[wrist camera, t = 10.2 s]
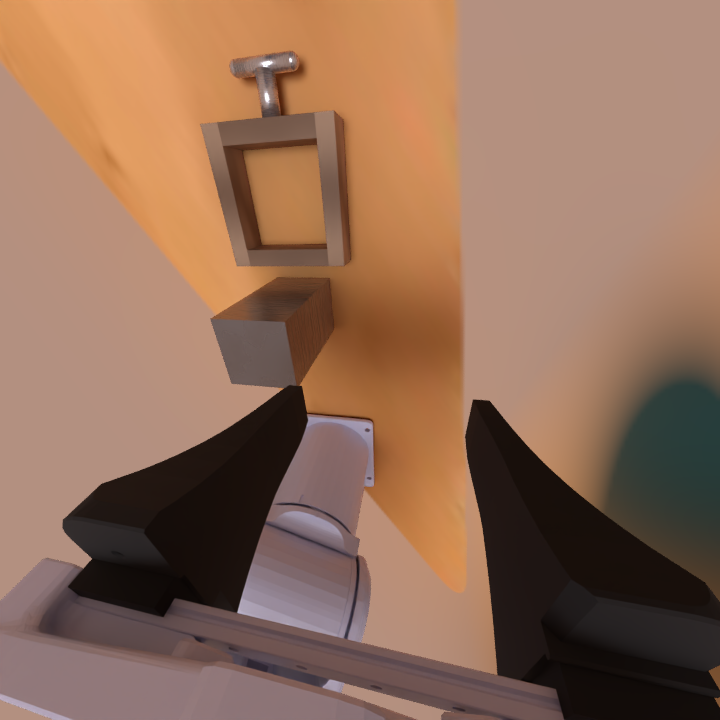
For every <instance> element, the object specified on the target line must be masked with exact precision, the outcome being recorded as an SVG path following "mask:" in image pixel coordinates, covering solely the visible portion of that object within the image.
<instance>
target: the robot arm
mask: <svg viewBox="0 0 720 720" xmlns="http://www.w3.org/2000/svg"><path fill="white" fill-rule="evenodd" d="M366 428H368V429H366ZM465 439H466V450H467V459H468V464H469V469H470V473H471V478H472V482H473V486H474V490H475V495H476V499H477V503H478V508H479V512H480V517H481V522H482V528H483V535H484V542H485V551H486V558H487V567H488V576H489V585H490V593H491V604H492V614H493V625H494V637H495V649H496V659H497V673H498V675H494V674H490V673H486V672H482V671H477V670H474V669H469V668H465V667H461V666H457V665H453V664H448V663H444V662H440V661H436V660H432V659H428V658H423V657H419V656H415V655H411V654H407V653H402V652H398V651H394V650H390V649H386V648H381V647H377V646H373V645H368V644H365V643H361V641H362V638H363V634H364V630H365V626H366V621H367V617H368V611H369V604H370V594H371V579H370V573H369V570H368V567H367V563H366V560H365V559H364V557H362V556H360V555H357V552H358V547H359V541H360V539H359V538H357V537H355V534H356V529H357V523H358V518H359V513H360V507H361V502H362V497H363V491H364V486H367V487H372V486H374V443H373V423H372V421H370V420H365V419H355V418H344V417H334V416H323V415H312V414H307V411H306V406H305V400H304V395H303V390H302V386H294V385H288V386H287V387H286V388H284V389H283V390H281V391H280V392H279V393H277V394H276V395H275V396H273V397H272V398H271V399H269V400H268V401H267V402H265V403H264V404H263V405H261V406H260V407H258V408H257V409H256V410H254V411H253V412H251V413H250V414H249V415H247V416H246V417H244V418H242V419H241V420H240V421H238V422H237V423H235V424H234V425H232V426H231V427H229V428H227V429H226V430H224V431H222V432H221V433H219V434H217V435H215V436H214V437H212V438H210V439H208V440H207V441H205V442H203V443H201V444H199V445H197V446H195V447H193V448H191V449H189V450H186V451H184V452H182V453H180V454H178V455H176V456H174V457H172V458H169V459H167V460H165V461H162V462H160V463H157V464H155V465H153V466H150V467H148V468H145V469H142V470H140V471H137V472H134V473H131V474H129V475H126V476H123V477H120V478H117V479H114V480H112V481H109V482H106V483H103V484H101V485H100V486H99V487H98V488H97V489H96V490H94V491H93V492H92V493H91V494H90V495H89V496H88V497H87V498H86V499H85V500H84V501H83V502H82V503H81V504H80V505H78V506H77V507H76V508H75V509H74V510H73V511H72V512H71V513H70V514H69V515H68V516H67V517H66V518H65V519H63V529H64V531H65V533H66V534H67V535H68V536H69V537H70V538H71V539H72V540H73V541H74V542H75V543H76V544H77V545H78V546H79V547H80V548H81V549H82V550H83V551H85V552H86V553H87V554H88V555H89V556H90V557H91V558H92V560H91V561H90V562H89V563H88V564H87V565H86V567H85V568H84V569H83V568H81V567H79V566H77V565H75V564H72V563H67V562H63V561H59V560H54V559H50V558H45V559H42V560H41V561H40V562H39V563H38V564H37V565H36V566H35V567H34V568H33V569H32V570H31V571H30V572H29V573H28V574H27V575H26V576H25V577H24V578H23V579H22V580H21V581H20V582H19V583H18V584H17V585H16V586H15V587H14V588H13V589H12V590H11V591H10V592H9V593H8V594H7V595H6V596H5V597H4V598H3V599H2V600H1V601H0V700H2V701H5V702H8V703H10V704H13V705H16V706H18V707H21V708H24V709H26V710H29V711H32V712H35V713H37V714H40V715H43V716H46V717H48V718H51V719H53V720H416V719H414V718H411V717H408V716H405V715H402V714H399V713H397V712H394V711H391V710H388V709H386V708H383V707H379V706H377V705H374V704H371V703H367V702H365V701H363V700H360V699H357V698H354V697H350V696H348V695H345V694H342V693H341V692H342V688H343V685H344V683H346V684H350V685H353V686H357V687H361V688H365V689H368V690H372V691H376V692H380V693H383V694H387V695H391V696H395V697H398V698H402V699H406V700H409V701H413V702H417V703H421V704H424V705H428V706H432V707H436V708H440V709H443V710H447V711H451V712H444V713H443V714H442V716H441V720H720V707H719V706H718V704H717V702H716V700H715V699H714V698H719V697H720V690H719V688H718V686H717V685H716V683H715V681H714V680H713V678H712V676H711V675H710V673H709V670H711V669H713V668H715V667H717V666H719V665H720V602H719V600H718V599H717V598H716V596H715V595H714V594H713V592H712V591H711V590H710V588H709V587H708V586H707V585H706V583H705V582H703V581H702V580H700V579H699V578H697V577H696V576H694V575H692V574H691V573H689V572H688V571H686V570H685V569H683V568H681V567H680V566H679V565H677V564H675V563H674V562H672V561H670V560H669V559H668V558H666V557H665V556H663V555H661V554H660V553H658V552H657V551H655V550H653V549H652V548H650V547H649V546H647V545H646V544H645V543H643V542H642V541H640V540H639V539H638V538H636V537H635V536H633V535H632V534H631V533H629V532H628V531H626V530H624V529H623V528H622V527H621V526H619V525H617V523H615V522H614V521H612V520H611V519H610V518H608V517H607V516H606V515H604V514H603V513H602V512H600V511H599V510H598V509H597V508H595V507H594V506H593V505H592V504H590V503H589V502H588V501H587V500H585V499H584V498H583V497H582V496H580V495H579V494H578V493H577V492H576V491H574V490H573V489H572V488H571V487H570V486H568V485H567V484H566V483H565V482H564V481H563V480H562V479H561V478H560V477H558V476H557V475H556V474H555V473H554V472H553V471H552V470H551V469H550V468H549V467H548V466H546V465H545V464H544V463H543V462H542V461H541V460H540V459H539V458H538V456H537V455H536V454H535V453H534V452H533V451H532V450H531V449H530V448H529V447H528V446H527V445H526V444H525V443H524V442H523V440H522V439H521V438H520V437H519V436H518V435H517V434H516V432H515V431H514V430H513V429H512V428H511V427H510V425H509V424H508V423H507V422H506V420H505V419H504V418H503V417H502V416H501V414H500V413H499V412H498V411H497V409H496V408H495V407H494V406H493V405H492V403H491V402H490V401H485V400H473V402H472V407H471V412H470V416H469V422H468V426H467V431H466V435H465ZM453 712H454V713H453Z"/></svg>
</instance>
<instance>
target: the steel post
mask: <svg viewBox="0 0 720 720" xmlns="http://www.w3.org/2000/svg"><path fill="white" fill-rule="evenodd" d="M211 322H212V325H213V329H214V331H215V335H216V338H217V341H218V344H219V346H220V350H221V352H222V356H223V359H224V362H225V365H226V368H227V371H228V374H229V377H230V380H231V383H232V384H242V385H255V386H267V387H278V388H286V387H287V386H288V385H294V386H299V385H300V384H301V382H302V380H303V379H304V377H305V376H306V374H307V372H308V371H309V369H310V367H311V366H312V364H313V363H314V361H315V359H316V358H317V356H318V354H319V353H320V351H321V350H322V348H323V346H324V345H325V343H326V341H327V340H328V338H329V336H330V335H331V333H332V332H333V330H334V322H333V310H332V299H331V288H330V278H285V277H278V278H276V279H274V280H273V281H271V282H269V283H268V284H266V285H265V286H263V287H261V288H260V289H258V290H256V291H255V292H253V293H252V294H250V295H248V296H247V297H245V298H243V299H242V300H240V301H239V302H237V303H235V304H234V305H232V306H230V307H229V308H227V309H226V310H224V311H222V312H221V313H219V314H217V315H216V316H214V317H213V318H211Z"/></svg>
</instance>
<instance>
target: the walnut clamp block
mask: <svg viewBox="0 0 720 720" xmlns="http://www.w3.org/2000/svg"><path fill="white" fill-rule="evenodd" d="M229 67H230V71H231V73H232V75H233V76H234V77H236V78H238V79H240V78H248V77H255V76H256V82H257V88H258V94H259V100H260V106H261V112H262V118H256V119H246V120H236V121H226V122H217V123H207V124H200V125H201V129H202V132H203V136H204V140H205V144H206V148H207V152H208V156H209V160H210V164H211V167H212V171H213V175H214V179H215V183H216V187H217V191H218V195H219V198H220V202H221V206H222V210H223V214H224V218H225V222H226V226H227V230H228V233H229V237H230V241H231V245H232V249H233V253H234V257H235V261H236V265H237V266H345V265H346V264H347V263H348V262H349V261H350V260H351V252H350V234H349V216H348V198H347V180H346V162H345V144H344V126H343V119H342V118H341V117H340V116H339V115H338V114H337V113H336V112H335V111H324V112H314V113H305V114H295V115H285V116H281V111H280V104H279V96H278V89H277V82H276V75H275V74H278V73H286V72H293V71H296V70H297V69H298V67H299V58H298V56H297V54H296V53H295V52H293V51H286V52H279V53H272V54H265V55H258V56H251V57H244V58H237V59H232V60H231V61H230V64H229ZM314 144H317V146H318V157H319V167H320V178H321V188H322V199H323V209H324V220H325V230H326V241H327V244H303V245H261V240H260V235H259V231H258V226H257V221H256V216H255V211H254V206H253V201H252V197H251V192H250V187H249V182H248V177H247V172H246V168H245V163H244V158H243V153H242V150H253V149H265V148H277V147H290V146H302V145H314Z"/></svg>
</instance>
